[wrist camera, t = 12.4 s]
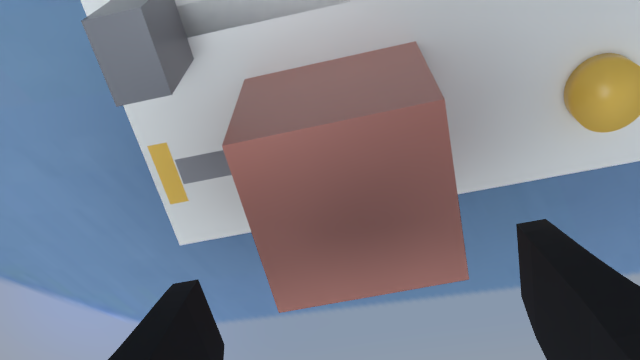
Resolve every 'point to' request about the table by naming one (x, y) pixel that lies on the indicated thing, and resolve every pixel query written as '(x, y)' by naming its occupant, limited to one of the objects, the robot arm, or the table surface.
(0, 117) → the table surface
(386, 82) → the reddish pink block
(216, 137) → the breaker panel
